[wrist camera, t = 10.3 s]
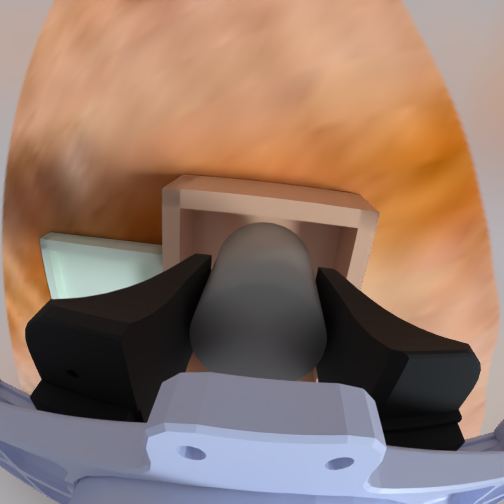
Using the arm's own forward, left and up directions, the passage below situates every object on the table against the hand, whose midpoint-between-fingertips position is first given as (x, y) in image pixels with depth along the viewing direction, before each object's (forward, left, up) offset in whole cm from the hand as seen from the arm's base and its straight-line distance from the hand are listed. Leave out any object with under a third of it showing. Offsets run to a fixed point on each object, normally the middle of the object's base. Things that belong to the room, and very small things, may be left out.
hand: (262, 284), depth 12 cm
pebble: (0, 0, -2) cm, 2 cm away
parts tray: (-7, +9, -5) cm, 13 cm away
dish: (-3, 0, -5) cm, 5 cm away
